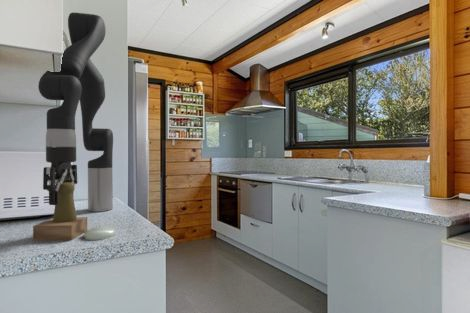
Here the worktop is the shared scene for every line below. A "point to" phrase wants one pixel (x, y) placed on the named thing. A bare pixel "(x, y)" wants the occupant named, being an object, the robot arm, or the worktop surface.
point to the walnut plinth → (59, 230)
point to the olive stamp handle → (65, 204)
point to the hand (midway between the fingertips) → (61, 202)
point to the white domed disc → (99, 233)
